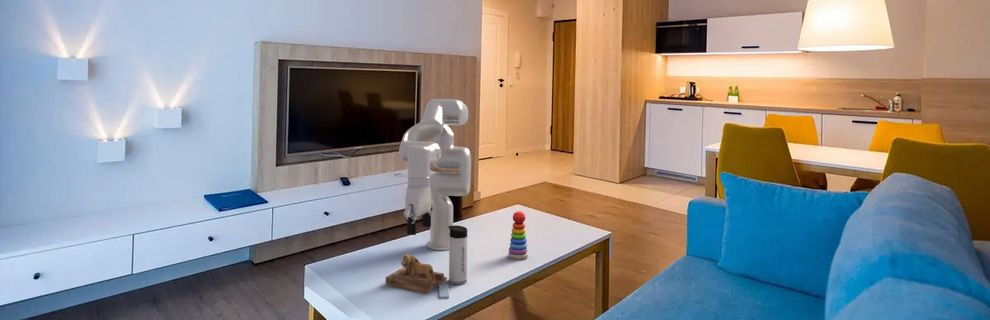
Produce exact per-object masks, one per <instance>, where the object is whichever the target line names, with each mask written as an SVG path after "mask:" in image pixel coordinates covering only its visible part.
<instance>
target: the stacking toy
mask: <svg viewBox="0 0 990 320" xmlns="http://www.w3.org/2000/svg"><path fill="white" fill-rule="evenodd" d="M512 220H513V222H514V223H512V228H511V233H510V237H511V238H510V241H509V242H510V243H509V248H508V254H507V255H508V257H509V258H510V259H512V260H525V259H527V258H528V257H529V253H528V248H527V247H528V244H527V241H528V239H527V238H526V237H527V234H526V229H525V228H526V224H525V221H526V214H525V213H524V212H523V211H522V210H521V211H519V210H518V211H516V212H514V213H513V214H512Z"/></svg>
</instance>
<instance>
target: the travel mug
mask: <svg viewBox="0 0 990 320" xmlns="http://www.w3.org/2000/svg"><path fill="white" fill-rule="evenodd" d="M449 228H450V236H449V237H450V238H449V250H448V252H449V257H448V261H449V262H448V263H449V264H448V269H449V270H448V277H449V278H448V282H449V283H450V284H452V285H455V286H456V285H458V286H461V285H464V284H466V283H467V281H468V278H467V277H468V229H467V227H465V226H463V225H453V226H449ZM449 228H448V229H449Z"/></svg>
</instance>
